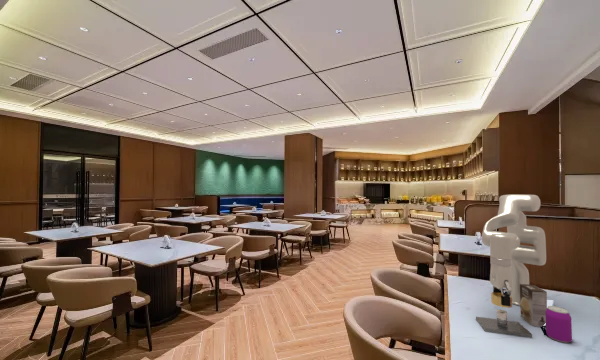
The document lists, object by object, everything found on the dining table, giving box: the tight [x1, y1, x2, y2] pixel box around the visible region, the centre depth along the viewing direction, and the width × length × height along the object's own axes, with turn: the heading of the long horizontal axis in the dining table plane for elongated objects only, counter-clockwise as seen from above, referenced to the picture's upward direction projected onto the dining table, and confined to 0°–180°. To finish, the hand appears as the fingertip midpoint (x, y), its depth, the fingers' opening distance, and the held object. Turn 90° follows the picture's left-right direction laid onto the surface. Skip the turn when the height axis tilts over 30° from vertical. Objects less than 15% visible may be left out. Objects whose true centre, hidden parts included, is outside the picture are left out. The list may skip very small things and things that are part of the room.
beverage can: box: [545, 305, 573, 344], centre depth 109 cm, size 8×8×12 cm
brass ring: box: [490, 291, 513, 308], centre depth 117 cm, size 7×7×4 cm
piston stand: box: [475, 308, 533, 339], centre depth 116 cm, size 17×11×8 cm, turn 74°
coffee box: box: [519, 284, 548, 328], centre depth 123 cm, size 9×6×16 cm
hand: (501, 301), depth 117 cm, fingers closed on brass ring, 7 cm apart
